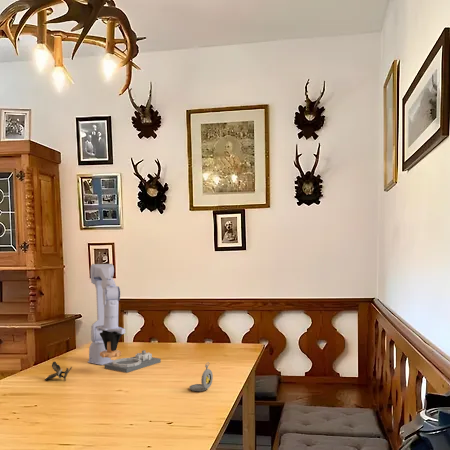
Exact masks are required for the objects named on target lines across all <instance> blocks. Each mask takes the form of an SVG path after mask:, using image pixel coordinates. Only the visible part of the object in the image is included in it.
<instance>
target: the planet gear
mask: <svg viewBox="0 0 450 450" xmlns="http://www.w3.org/2000/svg"><path fill="white" fill-rule="evenodd" d="M100 356H102V357H103V358H104V357H109V358H111V359H112V358H118V357H120V356H122V350H121V351H120V350H119V349H116V350H115V351H111V341H108V342H107V350H104V351H102V352H100Z"/></svg>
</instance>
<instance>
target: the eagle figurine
mask: <svg viewBox="0 0 450 450" xmlns="http://www.w3.org/2000/svg"><path fill="white" fill-rule="evenodd" d="M51 368H52V369H53V371H54V372H55V373H51V374H49V375H48V376H47V377H46V378H44V381H47V380H49V379H54V378H56V377H58V378H59V379H62V378H63V380H64V381H67V380H66V378H67V376H68V374H69V373H70V371H71V370H72V368H73V366H70V368H68V367H66V369H65V371H63V368H61V366H60V364H58V363H57V362H56V361H53V362H52V363H51ZM63 374H64V375H63Z"/></svg>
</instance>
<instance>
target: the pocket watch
mask: <svg viewBox="0 0 450 450" xmlns="http://www.w3.org/2000/svg"><path fill="white" fill-rule="evenodd" d="M209 366H210V362H206V364H205V366H204V367H205V368H206V369H204V371H203V372H202V375H201V380H200V381H201V383H194V384H191V385H189V388H188V389H189V390H191V391H193V392H203V391H207V390H208V389H209V388H210V387H211V386H212V383H213V380H214V379H213V371H212V370H211V369H210V368H209Z"/></svg>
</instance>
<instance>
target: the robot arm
mask: <svg viewBox="0 0 450 450" xmlns="http://www.w3.org/2000/svg"><path fill="white" fill-rule="evenodd" d="M114 267H115V266H114V265H113V263H101V264H100V263H98V264H97V263H92V264H91V265H90V281H91V282H90V283H91V284H92V285H94V286H95V291H96V292H95V294H96V319H97V320H95V321H94V322H93V323H92V325H91V328H90V329H91V330H90V340H91V344H90V345H89V347H88V348H89V350H88V361H87V363H88V364H96V365H100V366H103V365H104V366H105V364H109V363H112V361H114V360H115V359H112V358H109V357H104V358H103V357H102V356H100V352H102V351H104V350H107V342H108V341H111V351H115V350H118V349H117V348H118V345H119V342H120V339H121V338H122V335H124V334H126V328H124V327H121V326H119V303H120V302H119V301H120V300H121V288H120V286H118V285H117V284H116V281H115V279H114V273H115V268H114Z"/></svg>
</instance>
